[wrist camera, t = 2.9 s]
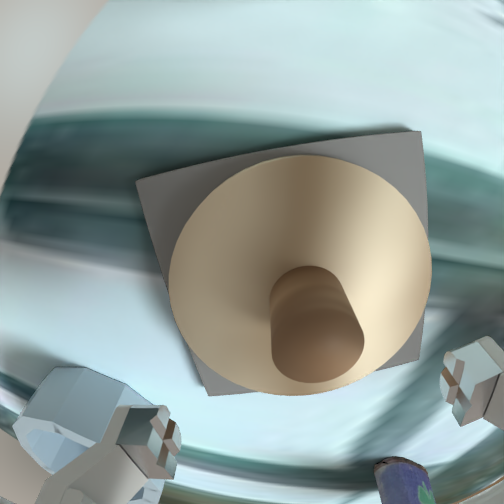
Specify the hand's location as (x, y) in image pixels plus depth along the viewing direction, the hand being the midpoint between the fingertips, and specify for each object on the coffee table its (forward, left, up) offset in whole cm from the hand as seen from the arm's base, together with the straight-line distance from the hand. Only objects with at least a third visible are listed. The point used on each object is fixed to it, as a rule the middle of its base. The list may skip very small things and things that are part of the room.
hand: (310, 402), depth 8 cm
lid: (0, -1, -5) cm, 5 cm away
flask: (-7, +20, -6) cm, 22 cm away
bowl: (+14, +8, -6) cm, 17 cm away
